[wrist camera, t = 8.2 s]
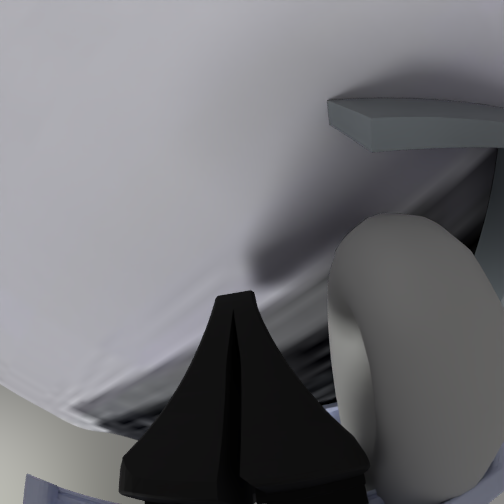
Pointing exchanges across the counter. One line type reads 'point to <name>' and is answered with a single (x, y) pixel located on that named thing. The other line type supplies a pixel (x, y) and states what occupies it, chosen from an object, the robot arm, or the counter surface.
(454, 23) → the counter surface
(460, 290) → the donut
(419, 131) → the bracket
